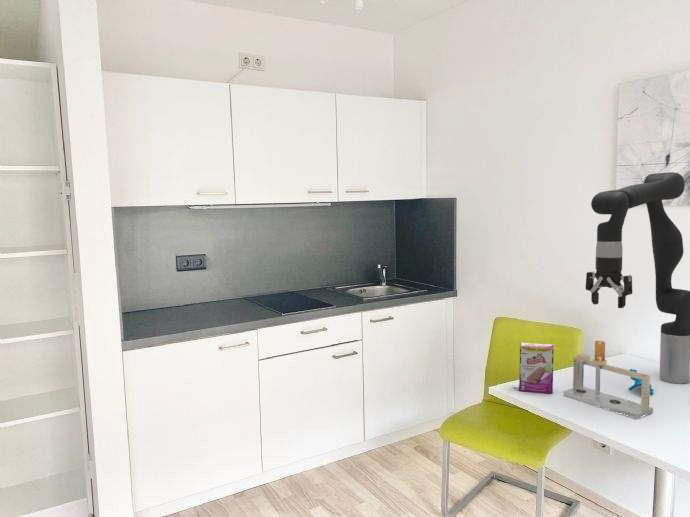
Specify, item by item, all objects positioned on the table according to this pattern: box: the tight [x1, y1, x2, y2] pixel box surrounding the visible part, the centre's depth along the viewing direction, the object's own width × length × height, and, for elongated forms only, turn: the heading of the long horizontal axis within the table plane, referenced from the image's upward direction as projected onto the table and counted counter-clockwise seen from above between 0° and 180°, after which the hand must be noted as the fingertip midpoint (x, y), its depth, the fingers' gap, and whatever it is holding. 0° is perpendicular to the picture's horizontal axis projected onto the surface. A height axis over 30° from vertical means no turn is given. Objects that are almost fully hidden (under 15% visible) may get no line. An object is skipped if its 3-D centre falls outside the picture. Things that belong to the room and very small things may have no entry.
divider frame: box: [563, 353, 654, 420], centre depth 169 cm, size 9×25×14 cm, turn 31°
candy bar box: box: [518, 342, 555, 394], centre depth 183 cm, size 11×5×16 cm, turn 71°
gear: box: [628, 368, 654, 396], centre depth 180 cm, size 11×6×10 cm
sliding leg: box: [591, 340, 608, 395], centre depth 172 cm, size 3×3×18 cm
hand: (607, 306), depth 167 cm, fingers open, 8 cm apart
